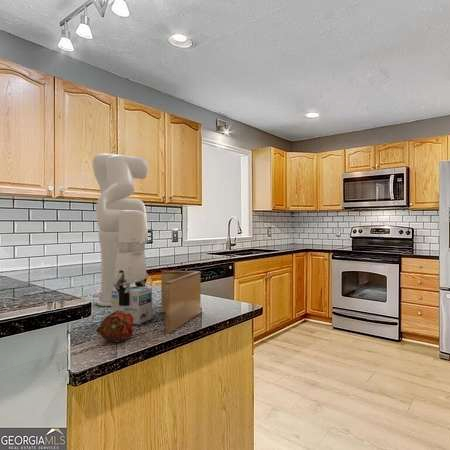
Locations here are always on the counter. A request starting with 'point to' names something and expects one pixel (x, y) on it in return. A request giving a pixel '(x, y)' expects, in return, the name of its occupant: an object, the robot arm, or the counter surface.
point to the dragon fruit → (116, 326)
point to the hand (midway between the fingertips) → (132, 301)
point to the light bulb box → (135, 303)
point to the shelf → (180, 297)
